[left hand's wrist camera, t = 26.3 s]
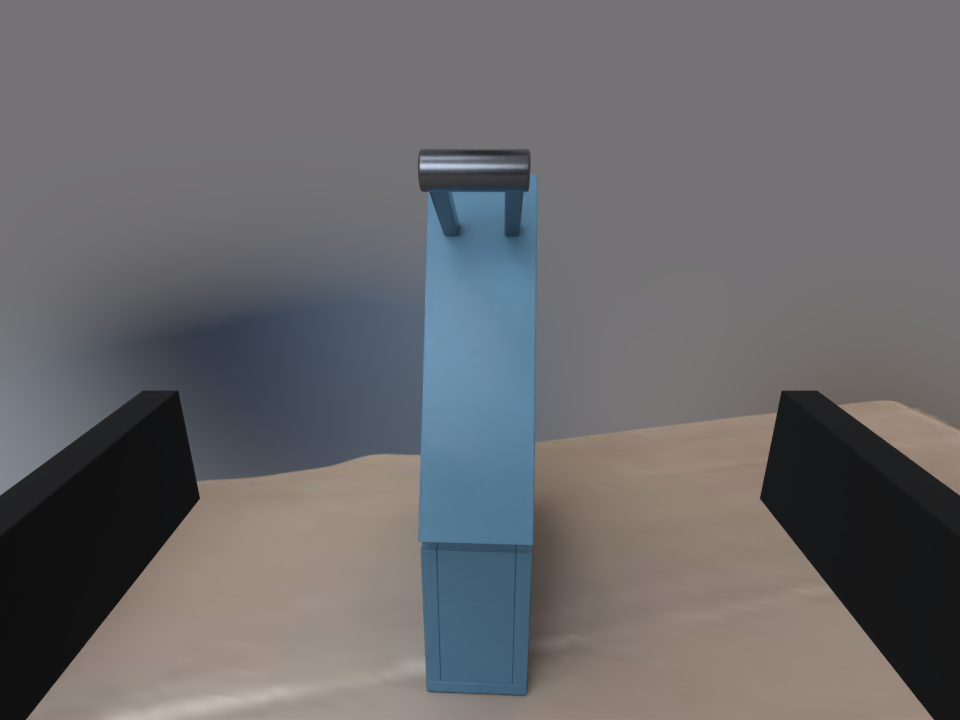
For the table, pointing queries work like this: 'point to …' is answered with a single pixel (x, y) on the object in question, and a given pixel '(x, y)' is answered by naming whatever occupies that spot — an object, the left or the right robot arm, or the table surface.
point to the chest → (476, 617)
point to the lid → (479, 347)
